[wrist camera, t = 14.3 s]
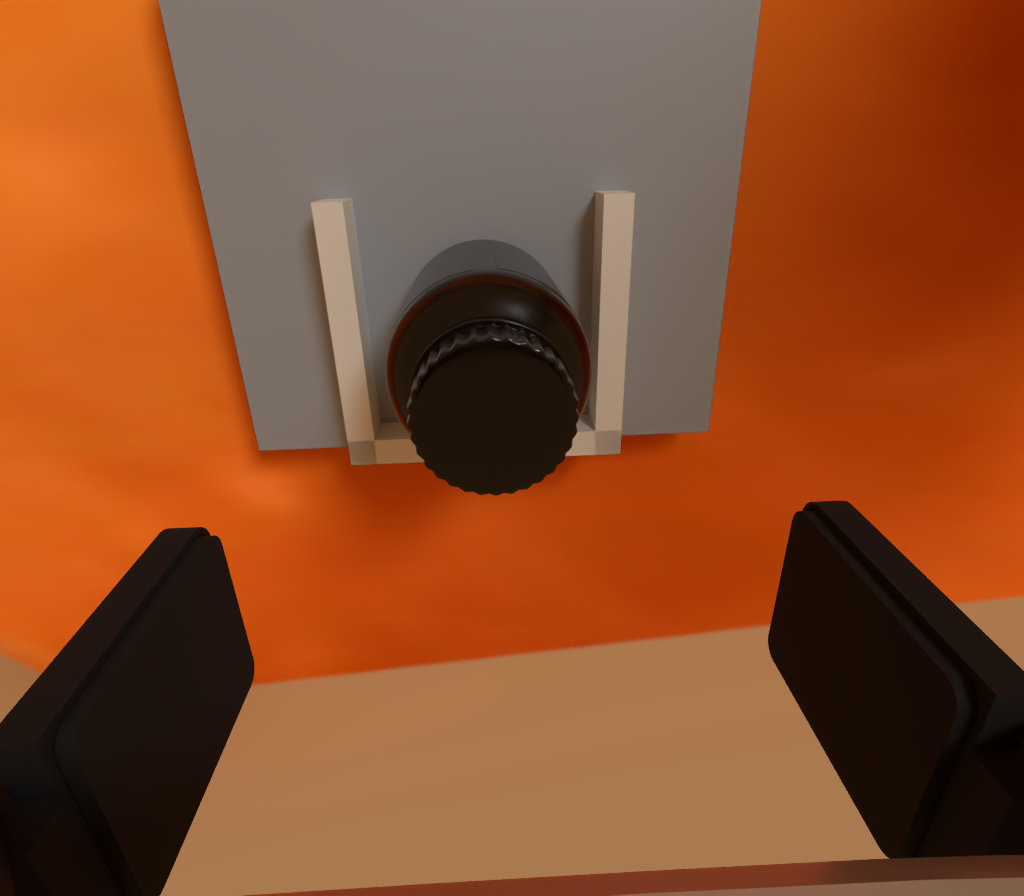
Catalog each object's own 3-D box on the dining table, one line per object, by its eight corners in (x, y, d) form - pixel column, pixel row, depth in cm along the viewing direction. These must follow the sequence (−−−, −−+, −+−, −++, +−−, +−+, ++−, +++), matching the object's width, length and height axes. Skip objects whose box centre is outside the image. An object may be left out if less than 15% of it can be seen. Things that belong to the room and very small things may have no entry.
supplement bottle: (464, 414, 30) (455, 565, 19) (377, 292, 27) (308, 387, 16) (589, 338, 28) (656, 454, 18) (510, 203, 26) (532, 241, 15)
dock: (180, -47, 24) (110, -93, 20) (739, -57, 25) (797, -103, 20) (277, 426, 33) (245, 469, 28) (689, 409, 33) (722, 449, 29)
